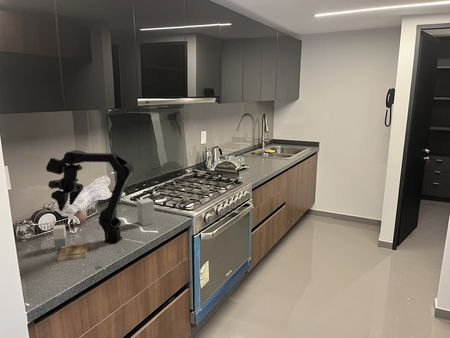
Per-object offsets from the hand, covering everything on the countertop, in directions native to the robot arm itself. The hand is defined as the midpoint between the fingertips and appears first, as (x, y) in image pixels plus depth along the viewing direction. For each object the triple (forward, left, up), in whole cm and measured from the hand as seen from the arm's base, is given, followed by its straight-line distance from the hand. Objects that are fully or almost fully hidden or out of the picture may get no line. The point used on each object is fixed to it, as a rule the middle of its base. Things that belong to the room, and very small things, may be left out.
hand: (65, 207), depth 162 cm
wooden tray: (-11, +12, -17) cm, 23 cm away
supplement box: (-26, -29, -17) cm, 43 cm away
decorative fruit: (+9, -19, -17) cm, 27 cm away
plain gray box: (-1, +8, -17) cm, 18 cm away
